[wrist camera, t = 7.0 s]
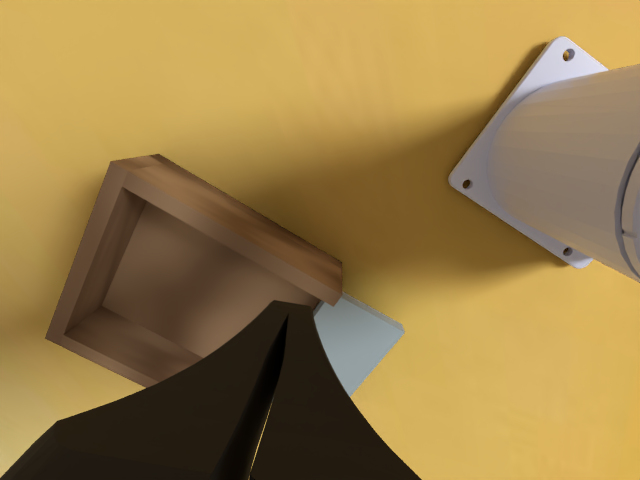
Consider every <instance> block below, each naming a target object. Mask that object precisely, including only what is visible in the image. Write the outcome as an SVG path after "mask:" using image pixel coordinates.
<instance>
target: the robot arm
mask: <svg viewBox="0 0 640 480" xmlns="http://www.w3.org/2000/svg"><path fill="white" fill-rule="evenodd" d="M565 50H566V51H568V53H569V58H568V60H567V61H564V59H563V53H564V51H565ZM465 180H469V181H470V185H469V186H468V187H467V188H463V186H462V184H463V182H464V181H465ZM448 182H449V184H450V185H451V186H452V187H453V188H455V189H456V190H458V191H459V192H461V193H462V194H464V195H465V196H467V197H468V198H470V199H471V200H473V201H474V202H476V203H477V204H479V205H480V206H482V207H483V208H485V209H486V210H488V211H489V212H491V213H492V214H494V215H495V216H497V217H498V218H500V219H501V220H503V221H504V222H506V223H507V224H509V225H510V226H512V227H513V228H515V229H517V230H518V231H520V232H521V233H523V234H524V235H526V236H527V237H529V238H530V239H532V240H533V241H535V242H536V243H538V244H539V245H541V246H542V247H544V248H545V249H547V250H548V251H550V252H551V253H553V254H554V255H556V256H557V257H559V258H560V259H562V260H563V261H565V262H566V263H568V264H569V265H571V266H573V267H574V268H577V269H581V268H584V267H586V266H587V265H588V264H589V263H590V262H591V261H592V260H593V259H595V260H597V261H599V262H601V263H602V264H604V265H606V266H608V267H610V268H612V269H614V270H616V271H618V272H620V273H622V274H624V275H626V276H628V277H630V278H631V279H633V280H635V281H637V282H639V283H640V64H637V65H632V66H627V67H622V68H618V69H613V70H608V69H607V68H606V67H605V66H603V65H602V64H601V63H599V62H598V61H597V60H596V59H594V58H593V57H592V56H590V55H589V54H588V53H587V52H585V51H584V50H583V49H582V48H580V47H579V46H578V45H576V44H575V43H574V42H573V41H571V40H570V39H569V38H567V37H565V36H561V37H558V38H555V39H553V40H551V41H550V42H549V43H548V44H547V45H546V47H545V48H544V49H543V51H542V52H541V53H540V55H539V56H538V57H537V59H536V60H535V61H534V63H533V64H532V65H531V67H530V68H529V69H528V71H527V72H526V73H525V75H524V76H523V77H522V79H521V80H520V81H519V83H518V84H517V85H516V87H515V88H514V89H513V91H512V92H511V93H510V95H509V96H508V97H507V99H506V100H505V101H504V103H503V104H502V105H501V107H500V108H499V109H498V111H497V112H496V113H495V115H494V116H493V117H492V119H491V120H490V121H489V123H488V124H487V125H486V127H485V128H484V129H483V131H482V132H481V133H480V135H479V136H478V137H477V139H476V140H475V141H474V143H473V144H472V145H471V147H470V148H469V149H468V150H467V152H466V153H465V154H464V156H463V157H462V158H461V160H460V161H459V162H458V164H457V165H456V166H455V168H454V169H453V170H452V172H451V173H450V175H449V177H448ZM566 248H568V251H567V252H566V253H563V251H564V249H566ZM271 404H272V405H271ZM270 407H271V408H270ZM269 410H270V412H269ZM268 413H269V415H268ZM267 416H268V418H267ZM266 419H267V422H266ZM265 422H266V425H265ZM264 425H265V428H264ZM263 428H264V432H263V435H262V438H261V441H260V444H259V447H258V450H257V454H256V457H255V460H254V463H253V459H254V456H255V452H256V449H257V446H258V443H259V440H260V437H261V434H262V431H263ZM252 463H253V466H252ZM251 467H252V469H251ZM250 471H251V472H250ZM249 475H250V477H249ZM248 479H249V480H421V479H420V478H419V477H418V476H417V475H416V474H415V473H414V472H413V471H412V470H411V469H410V468H409V467H408V466H407V465H406V464H405V463H404V462H403V461H402V460H401V459H400V458H399V457H398V456H397V455H396V454H395V453H394V452H393V451H392V450H391V449H390V448H389V447H388V446H387V444H386V443H385V442H384V441H383V440H382V439H381V438H380V436H379V435H378V434H377V433H376V432H375V431H374V429H373V428H372V427H371V426H370V424H369V423H368V422H367V420H366V419H365V418H364V416H363V415H362V414H361V412H360V411H359V410H358V408H357V407H356V406H355V404H354V403H353V401H352V400H351V398H350V397H349V395H348V394H347V392H346V391H345V389H344V387H343V386H342V384H341V382H340V380H339V379H338V377H337V375H336V373H335V371H334V369H333V367H332V365H331V363H330V361H329V359H328V357H327V355H326V352H325V350H324V348H323V345H322V342H321V340H320V337H319V334H318V331H317V328H316V324H315V320H314V315H313V309H312V307H311V306H307V305H301V304H296V303H290V302H284V301H278V300H273V301H272V302H270V303H269V305H268V306H267V307H266V308H265V309H264V310H263V311H262V312H261V313H260V314H259V315H258V316H257V317H256V318H255V319H254V320H252V321H251V322H250V323H249V324H248V325H247V326H246V327H245V328H243V329H242V330H241V331H240V332H239V333H238V334H236V335H235V336H234V337H232V338H231V339H230V340H228V341H227V342H226V343H225V344H223V345H222V346H221V347H219V348H218V349H216V350H215V351H214V352H212V353H211V354H209V355H208V356H206V357H205V358H203V359H201V360H200V361H198V362H197V363H195V364H193V365H192V366H190V367H188V368H186V369H184V370H182V371H180V372H178V373H177V374H175V375H173V376H171V377H169V378H167V379H165V380H163V381H161V382H159V383H157V384H155V385H152V386H150V387H148V388H146V389H143V390H141V391H139V392H136V393H134V394H132V395H129V396H127V397H124V398H122V399H119V400H117V401H114V402H111V403H109V404H106V405H103V406H100V407H97V408H94V409H91V410H88V411H86V412H83V413H80V414H77V415H74V416H71V417H68V418H65V419H62V420H59V421H57V422H56V423H55V424H54V425H53V426H52V427H50V428H49V429H48V430H47V431H46V432H45V433H44V434H43V435H42V436H41V437H40V438H39V439H37V440H36V441H35V442H34V443H33V444H32V445H31V447H30V448H29V449H28V450H27V451H26V452H25V453H24V454H23V455H22V456H21V457H20V458H19V459H18V460H17V461H16V462H15V463H14V464H13V465H12V466H11V467H10V468H9V470H8V471H7V472H6V473H5V474H4V475H3V476H2V477H1V478H0V480H248Z"/></svg>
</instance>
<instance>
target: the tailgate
mask: <svg viewBox="0 0 640 480" xmlns="http://www.w3.org/2000/svg"><path fill="white" fill-rule="evenodd" d="M342 294H343V295H342V296H341V298H340V299H339V300H338V302H337V303H336V305H335V306H334V307H333V306H331V305H329V304H327V303H326V302H324V301H322V300H321V301H320V302H319V304H318V305H317V307H316V308H315V309H314V311H313V315H314V320H315V324H316V328H317V331H318V334H319V337H320V340H321V342H322V345H323V348H324V350H325V352H326V355H327V357H328V359H329V361H330V363H331V365H332V367H333V369H334V371H335V373H336V375H337V377H338V379H339V380H340V382H341V384H342V386H343V387H344V389H345V391H346V392H347V394H348V395H349V397H350V396H351V395H352V394H353V393H354V392H355V390H356V389H357V388H358V387H359V386H360V385H361V383H362V382H363V381H364V380H365V379H366V377H367V376H368V375H369V374H370V373H371V372H372V370H373V369H374V368H375V367H376V366H377V365H378V363H379V362H380V361H381V360H382V359H383V357H384V356H385V355H386V354H387V353H388V352H389V350H390V349H391V348H392V347H393V346H394V345H395V343H396V342H397V341H398V340H399V339H400V337H401V336H402V335H403V334H404V333H405V331H404V329H403V326H402V324H401V323H399V322H397V321H395V320H393V319H392V318H390V317H388V316H386V315H384V314H382V313H381V312H379V311H377V310H375V309H373V308H372V307H370V306H368V305H366V304H364V303H363V302H361V301H359V300H357V299H355V298H353V297H352V296H350V295H348V294H346V293H344V292H343V291H342Z"/></svg>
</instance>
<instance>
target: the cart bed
mask: <svg viewBox="0 0 640 480" xmlns="http://www.w3.org/2000/svg"><path fill="white" fill-rule="evenodd" d="M342 295H343V294H342V262H340V261H339V260H337V259H335V258H333V257H332V256H330V255H328V254H327V253H325V252H323V251H322V250H320V249H318V248H317V247H315V246H313V245H311V244H310V243H308V242H306V241H305V240H303V239H301V238H300V237H298V236H296V235H295V234H293V233H291V232H290V231H288V230H286V229H284V228H283V227H281V226H279V225H278V224H276V223H274V222H273V221H271V220H269V219H268V218H266V217H264V216H263V215H261V214H259V213H257V212H256V211H254V210H252V209H251V208H249V207H247V206H246V205H244V204H242V203H241V202H239V201H237V200H236V199H234V198H232V197H230V196H229V195H227V194H225V193H224V192H222V191H220V190H219V189H217V188H215V187H214V186H212V185H210V184H209V183H207V182H205V181H203V180H202V179H200V178H198V177H197V176H195V175H193V174H192V173H190V172H188V171H187V170H185V169H183V168H181V167H180V166H178V165H176V164H175V163H173V162H171V161H170V160H168V159H166V158H165V157H163V156H161V155H160V154H155V155H149V156H142V157H136V158H129V159H122V160H116V161H111V162H110V165H109V168H108V170H107V173H106V176H105V178H104V181H103V184H102V186H101V189H100V192H99V195H98V197H97V200H96V203H95V205H94V208H93V211H92V213H91V216H90V219H89V221H88V224H87V227H86V229H85V232H84V235H83V238H82V240H81V243H80V246H79V248H78V251H77V254H76V256H75V259H74V262H73V264H72V267H71V270H70V273H69V275H68V278H67V281H66V283H65V286H64V289H63V291H62V294H61V297H60V299H59V302H58V305H57V308H56V310H55V313H54V316H53V318H52V321H51V324H50V326H49V329H48V332H47V334H46V337H45V339H47V340H49V341H51V342H53V343H56V344H58V345H60V346H62V347H64V348H66V349H68V350H70V351H72V352H74V353H76V354H78V355H80V356H82V357H84V358H86V359H88V360H90V361H92V362H95V363H97V364H99V365H101V366H103V367H105V368H107V369H109V370H111V371H113V372H115V373H117V374H119V375H121V376H123V377H125V378H127V379H129V380H131V381H133V382H136V383H138V384H140V385H142V386H144V387H146V388H148V387H150V386H152V385H155V384H157V383H159V382H161V381H163V380H165V379H167V378H169V377H171V376H173V375H175V374H177V373H178V372H180V371H182V370H184V369H186V368H188V367H190V366H192V365H193V364H195V363H197V362H198V361H200V360H201V359H203V358H205V357H206V356H208V355H209V354H211V353H212V352H214V351H215V350H216V349H218V348H219V347H221V346H222V345H223V344H225V343H226V342H227V341H228V340H230V339H231V338H232V337H234V336H235V335H236V334H238V333H239V332H240V331H241V330H242V329H243V328H245V327H246V326H247V325H248V324H249V323H250V322H251V321H252V320H254V319H255V318H256V317H257V316H258V315H259V314H260V313H261V312H262V311H263V310H264V309H265V308H266V307H267V306H268V305H269V303H270V302H272V301H273V300H278V301H284V302H290V303H296V304H301V305H307V306H311V307H312V309H314V308H315V307H316V305H317V304H318V302H319V301H320V300H322V301H324V302H326V303H327V304H329V305H331V306H333V307H334V306H335V305H336V303H337V302H338V300H339V299H340V298H341V296H342Z"/></svg>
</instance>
